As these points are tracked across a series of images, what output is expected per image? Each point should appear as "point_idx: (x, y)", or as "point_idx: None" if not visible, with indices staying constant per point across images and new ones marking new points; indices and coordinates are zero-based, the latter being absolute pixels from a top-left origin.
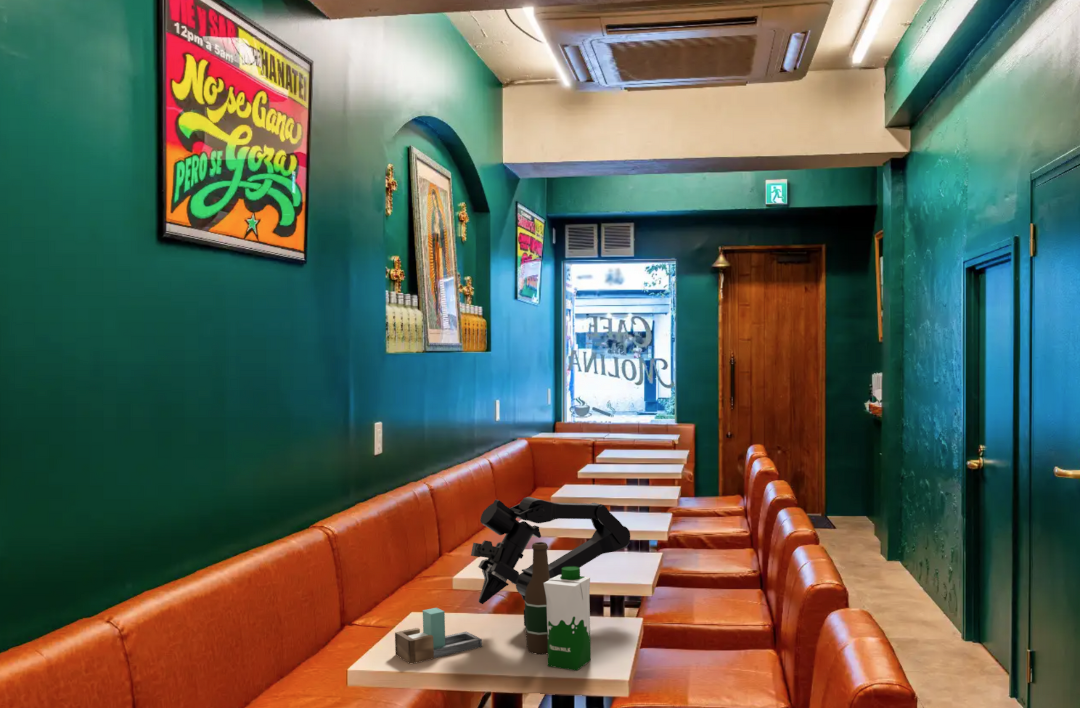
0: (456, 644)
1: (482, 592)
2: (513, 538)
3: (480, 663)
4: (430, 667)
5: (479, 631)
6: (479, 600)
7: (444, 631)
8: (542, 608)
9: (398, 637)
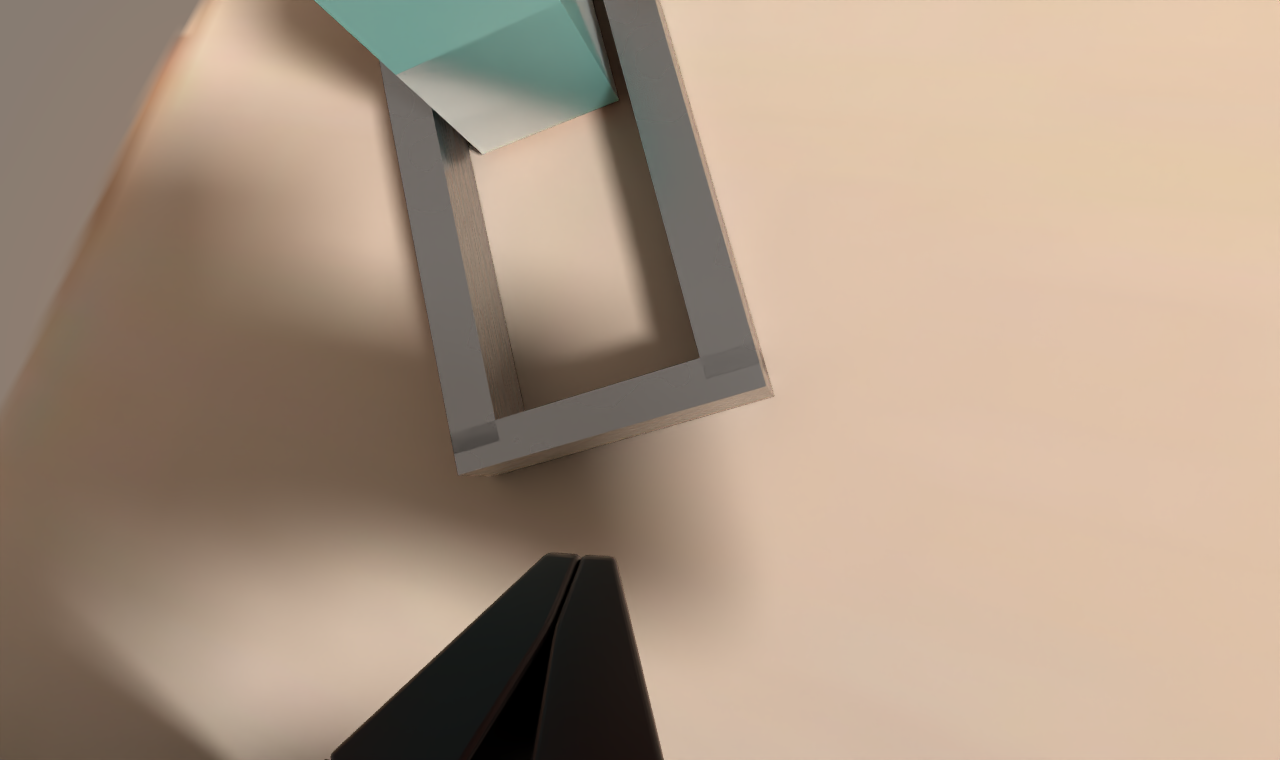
0: (417, 220)
1: (471, 677)
2: None
3: (182, 367)
4: (263, 34)
5: (1000, 600)
6: (541, 562)
7: (382, 56)
8: None
9: None
